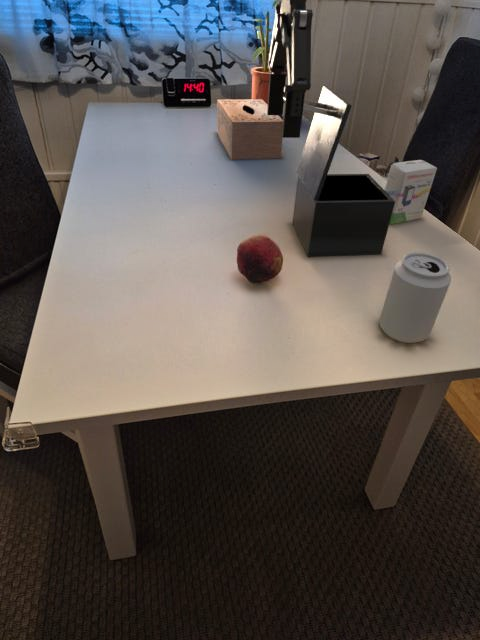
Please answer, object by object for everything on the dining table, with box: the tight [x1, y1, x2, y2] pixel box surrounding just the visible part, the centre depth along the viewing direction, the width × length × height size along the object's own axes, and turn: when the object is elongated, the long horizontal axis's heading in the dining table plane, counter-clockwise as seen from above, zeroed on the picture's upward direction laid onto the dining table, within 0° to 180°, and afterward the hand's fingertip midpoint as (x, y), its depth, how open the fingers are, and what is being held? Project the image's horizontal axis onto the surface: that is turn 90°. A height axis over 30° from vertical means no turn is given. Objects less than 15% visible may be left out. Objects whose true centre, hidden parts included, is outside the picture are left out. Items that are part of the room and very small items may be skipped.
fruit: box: [236, 234, 284, 285], centre depth 74 cm, size 8×8×8 cm
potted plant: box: [250, 0, 288, 105], centre depth 154 cm, size 17×16×35 cm
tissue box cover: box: [216, 98, 284, 161], centre depth 133 cm, size 26×14×10 cm, turn 11°
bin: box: [291, 173, 395, 258], centre depth 87 cm, size 15×14×11 cm
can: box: [378, 251, 452, 344], centre depth 64 cm, size 8×8×12 cm
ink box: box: [384, 159, 438, 225], centre depth 95 cm, size 9×5×12 cm, turn 114°
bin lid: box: [282, 85, 353, 200], centre depth 77 cm, size 16×14×9 cm
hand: (282, 125), depth 75 cm, fingers open, 13 cm apart
